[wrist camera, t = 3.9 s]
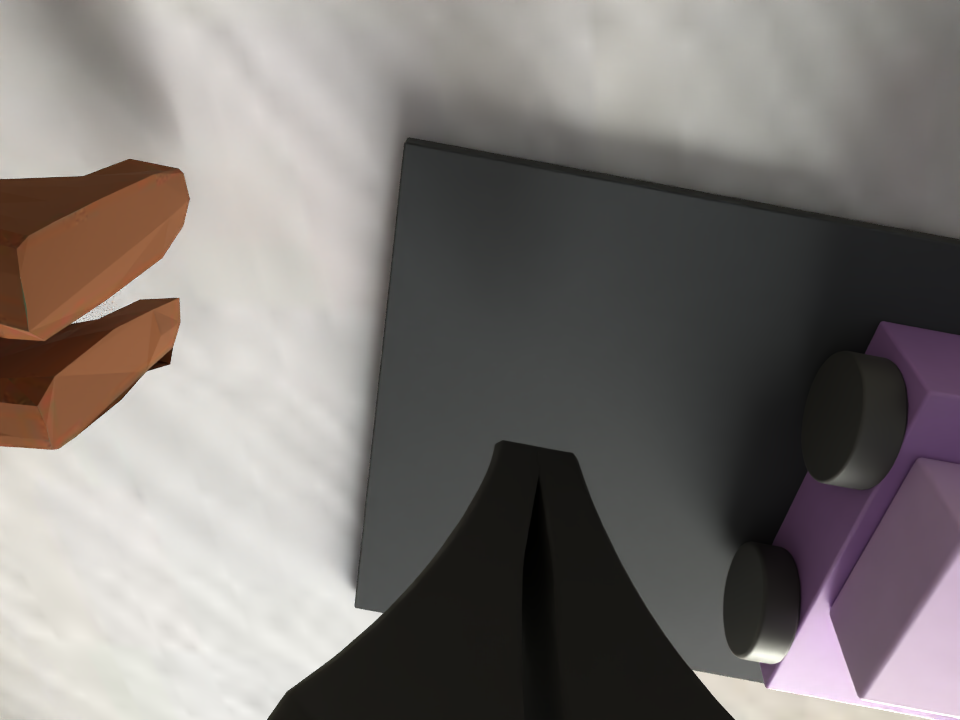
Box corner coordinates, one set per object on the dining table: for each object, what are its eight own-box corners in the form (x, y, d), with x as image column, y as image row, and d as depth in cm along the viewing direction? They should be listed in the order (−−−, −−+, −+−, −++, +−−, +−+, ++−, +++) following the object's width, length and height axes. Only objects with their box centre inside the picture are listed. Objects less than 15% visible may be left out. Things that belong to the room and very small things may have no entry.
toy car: (838, 311, 14) (929, 459, 10) (1177, 374, 14) (1380, 543, 10) (711, 594, 17) (745, 773, 14) (977, 643, 17) (1076, 834, 14)
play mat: (407, 136, 13) (404, 142, 13) (1623, 361, 13) (1644, 371, 13) (357, 598, 19) (354, 608, 19) (1197, 753, 19) (1206, 765, 19)
